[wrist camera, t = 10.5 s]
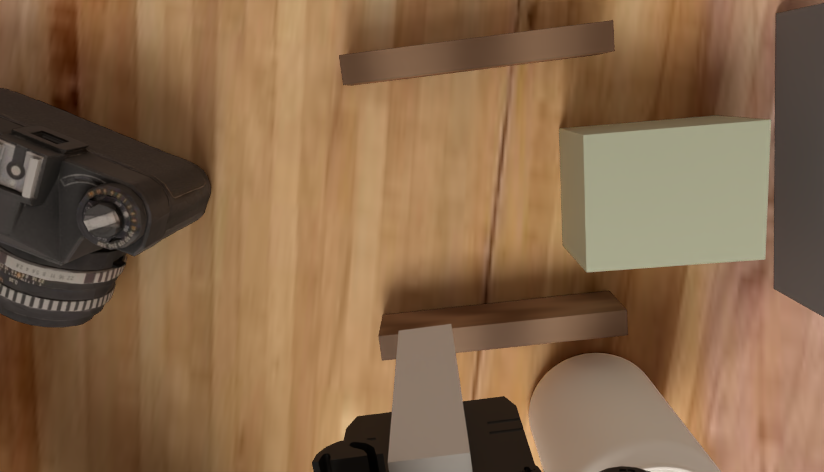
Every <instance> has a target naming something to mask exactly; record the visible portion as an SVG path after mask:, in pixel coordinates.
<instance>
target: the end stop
mask: <svg viewBox="0 0 824 472" xmlns="http://www.w3.org/2000/svg"><path fill="white" fill-rule="evenodd" d="M774 289H775V290H777V291H779V292H780V293H782V294H784V295H786V296H788V297H789V298H791V299H793V300H795V301H796V302H798V303H800V304H802V305H803V306H805V307H807V308H809V309H810V310H812V311H814V312H816V313H817V314H819V315H821V316H823V317H824V3H822V4H817V5H813V6H808V7H804V8H799V9H795V10H790V11H786V12H781V13H777V14H776V57H775V192H774Z"/></svg>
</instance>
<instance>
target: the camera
mask: <svg viewBox="0 0 824 472" xmlns="http://www.w3.org/2000/svg"><path fill="white" fill-rule="evenodd" d="M210 193H211V186H210V183H209V179H208V177H207V175H206V174H205V172H204V171H203V170H202V169H200V168H199V167H198V166H197V165H195V164H193V163H191V162H189V161H187V160H185V159H182V158H179V157H176V156H174V155H171V154H168V153H165V152H163V151H161V150H159V149H157V148H154V147H151V146H148V145H146V144H143V143H141V142H138V141H136V140H134V139H132V138H129V137H127V136H124V135H121V134H119V133H117V132H114V131H112V130H110V129H107V128H105V127H102V126H99V125H97V124H95V123H92V122H90V121H87V120H85V119H82V118H80V117H77V116H75V115H73V114H71V113H69V112H66V111H64V110H61V109H58V108H56V107H53V106H51V105H48V104H46V103H44V102H41V101H39V100H35V99H32V98H30V97H27V96H25V95H22V94H20V93H17V92H13V91H10V90H8V89H3V88H0V313H1V314H2V315H4V316H7V317H9V318H11V319H13V320H15V321H19V322H22V323H25V324H29V325H34V326H42V327H70V326H77V325H81V324H84V323H85V322H87V321H89V320H90V319H92V317H93V316H94V315H95V314H97V313H99V312H100V311H101V310H102V309H103V307H104V305H105V304H106V303H107V302H108V301H109V300H110V299H111V297H112V295H113V292H114V288H115V285H116V284H115V281H116V279H117V278H118V276H119V275H120V274H121V273H122V272H123V270H124V267H125V265H126V261H127V256H126V253H127V254H130V255H132V256H136V255H138V254H140V253H141V252H143V251H145V250H146V249H148V248H150V247H152V246H154V245H155V244H156V243H158V242H159V241H161V240H162V239H164V238H166V237H167V236H169V235H171V234H173V233H174V232H176V231H177V230H180V229H182V228H184V227H186V226H187V225H189V224H191V223H193V222H195V221H196V220H198V219H199V218H200V217H201V216H202V215H203V214H204V213H205V209H206V206H207V202H208V200H209V197H210Z"/></svg>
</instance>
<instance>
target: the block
mask: <svg viewBox="0 0 824 472" xmlns="http://www.w3.org/2000/svg"><path fill="white" fill-rule="evenodd" d="M770 135H771V120H769V119H756V118H744V117H731V116H719V115H714V116H702V117H690V118H678V119H666V120H654V121H642V122H630V123H618V124H606V125H594V126H582V127H570V128H559V146H560V178H561V210H562V242H563V246H564V247H565V249H566V250H567V251H568V252H569V253H570V254H571V255H572V257H573V258H574V259H575V260H576V261H577V262H578V263H579V264H580V266H581V267H582V268H583V269H584V270H585V271H586V272H599V271H613V270H626V269H640V268H654V267H667V266H681V265H695V264H708V263H722V262H736V261H750V260H763V259H765V253H766V229H767V205H768V182H769V158H770Z"/></svg>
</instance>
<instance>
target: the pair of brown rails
mask: <svg viewBox="0 0 824 472" xmlns="http://www.w3.org/2000/svg"><path fill="white" fill-rule="evenodd" d="M612 51H615V49H614V28H613V20H611V21H603V22H596V23H588V24H580V25H572V26H564V27H556V28H548V29H541V30H533V31H525V32H517V33H509V34H501V35H494V36H486V37H478V38H470V39H462V40H454V41H447V42H439V43H431V44H423V45H415V46H407V47H399V48H392V49H384V50H376V51H368V52H360V53H352V54H345V55H339V59H340V66H341V73H342V80H343V85H350V86H352V85H360V84H368V83H376V82H384V81H392V80H400V79H408V78H416V77H424V76H432V75H440V74H448V73H456V72H464V71H472V70H480V69H488V68H496V67H504V66H512V65H520V64H528V63H536V62H544V61H552V60H560V59H568V58H576V57H584V56H592V55H598V54H603V53H608V52H612ZM446 324H451V326H452V333H453V339H454V346H455V353H460V352H469V351H479V350H489V349H498V348H508V347H518V346H527V345H537V344H547V343H556V342H566V341H576V340H585V339H595V338H605V337H614V336H624V335H628V324H627V310H626V309H625V307H624V306H623V305H622V304H621V303H620V302H619V301H618V300H617V299H616V298H615V297H614V296H613V294H612V293H611V292H610V291H601V292H592V293H582V294H573V295H564V296H554V297H545V298H536V299H526V300H517V301H507V302H498V303H489V304H479V305H470V306H461V307H451V308H442V309H433V310H423V311H414V312H405V313H395V314H386V315H383V316H382V321H381V326H380V331H379V343H380V350H381V357H382V360H392V359H396V357H397V345H398V332H399V331H400V330H408V329H415V328H423V327H431V326H438V325H446Z"/></svg>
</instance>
